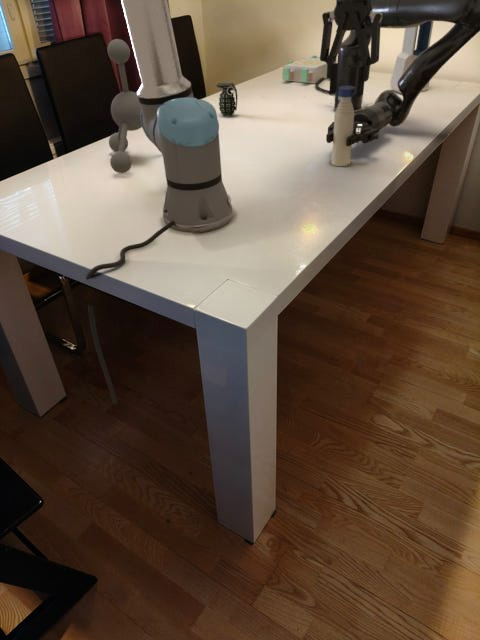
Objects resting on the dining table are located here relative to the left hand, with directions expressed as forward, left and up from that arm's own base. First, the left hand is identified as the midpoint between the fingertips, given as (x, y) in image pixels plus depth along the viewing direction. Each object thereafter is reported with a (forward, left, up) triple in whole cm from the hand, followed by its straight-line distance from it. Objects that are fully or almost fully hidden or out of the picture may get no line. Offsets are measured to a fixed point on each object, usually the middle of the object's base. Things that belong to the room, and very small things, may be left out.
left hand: (346, 94), depth 119 cm
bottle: (0, 0, -17) cm, 17 cm away
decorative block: (+91, +45, -17) cm, 103 cm away
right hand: (-3, 0, -10) cm, 11 cm away
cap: (0, 0, +1) cm, 1 cm away
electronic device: (+81, +1, -17) cm, 83 cm away
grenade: (+29, +51, -17) cm, 61 cm away
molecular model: (-16, +52, -17) cm, 57 cm away
